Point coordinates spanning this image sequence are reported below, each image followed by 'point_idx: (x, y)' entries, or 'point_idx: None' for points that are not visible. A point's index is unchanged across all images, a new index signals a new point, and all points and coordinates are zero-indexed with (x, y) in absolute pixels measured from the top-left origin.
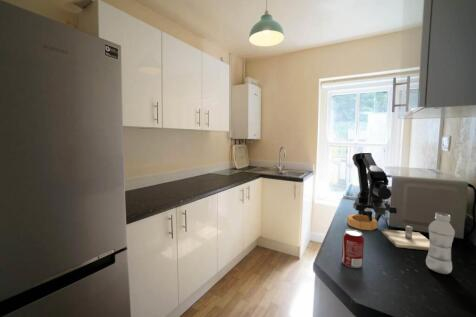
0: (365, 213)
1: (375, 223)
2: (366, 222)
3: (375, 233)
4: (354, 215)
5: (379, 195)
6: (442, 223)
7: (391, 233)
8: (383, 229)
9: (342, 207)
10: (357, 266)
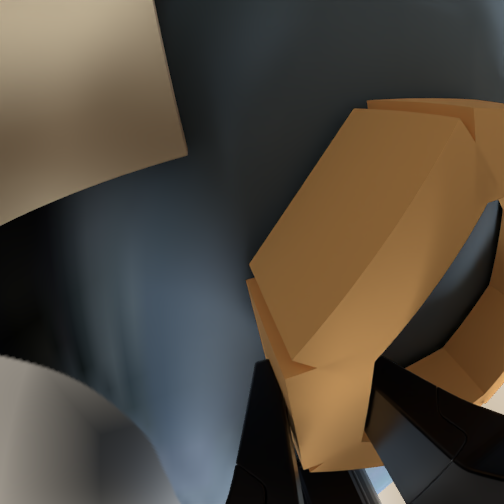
0: (340, 498)
1: (335, 258)
2: None
3: (302, 9)
4: (496, 381)
5: None
6: None
7: (29, 15)
8: (140, 163)
9: (381, 489)
10: None
